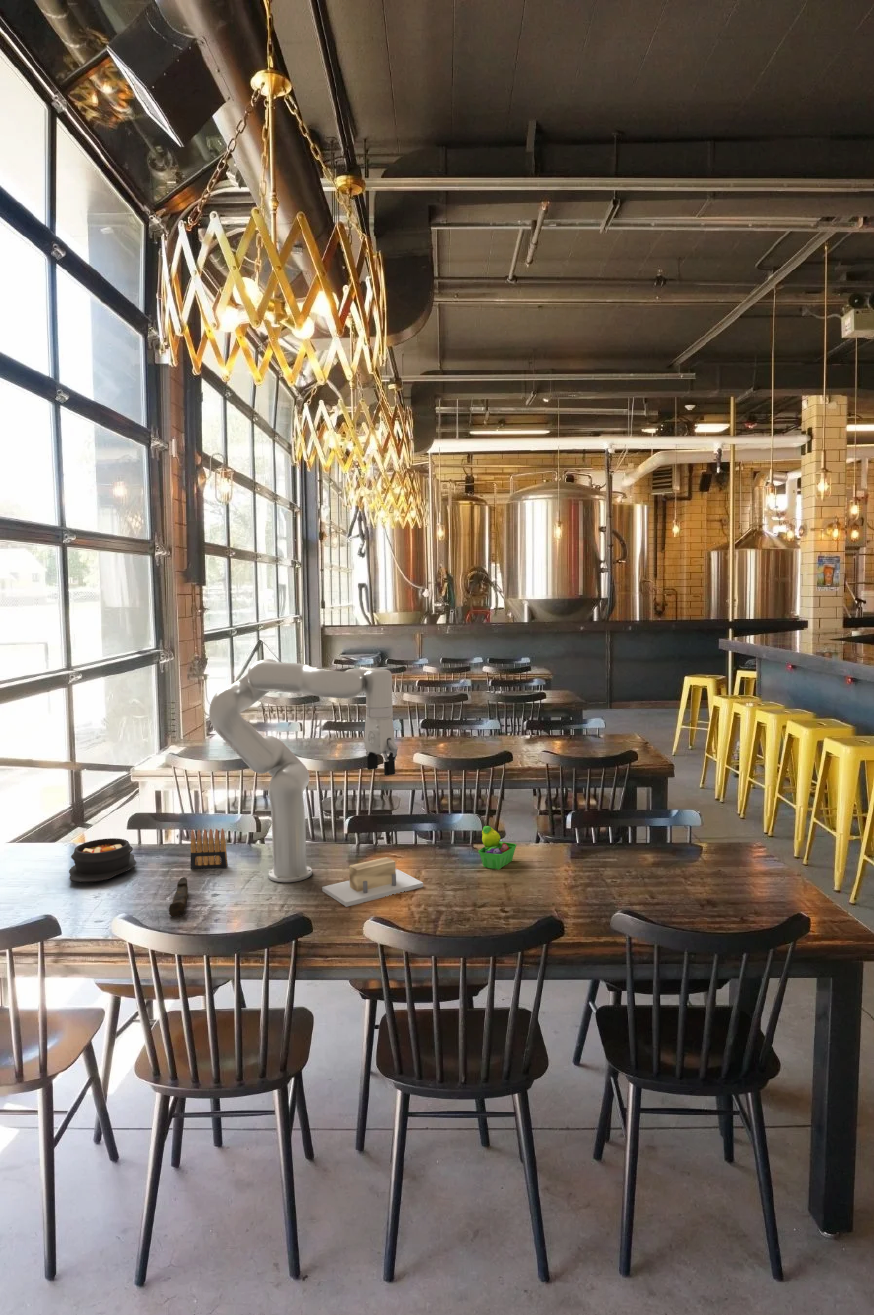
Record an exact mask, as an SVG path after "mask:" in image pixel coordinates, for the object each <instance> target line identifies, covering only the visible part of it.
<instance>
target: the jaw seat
mask: <svg viewBox="0 0 874 1315" xmlns="http://www.w3.org/2000/svg"><path fill="white" fill-rule="evenodd" d="M349 878H350V875H349ZM321 888H322V890H321V891H322V892H323V893H325V894H326V895H327V896H329V897H331V898H332V899H334V900H335V901H337V902H338V903H340V904H341V905H343V906H344V907H345V908H346V907H347V908H348V907H352V906H355V905H359V904H363V903H366V902H370V901H374V900H378V899H383V898H386V897H389V895H390V896H393V895H392V894H394V895H397V894H396V893H398V894H401V893H400V892H402V893H405V892H408V891H409V892H410V891H413V890H417V889H421V888H424V882H422V881H421V880H419V879H417V878H415V877H413V876H411V875H409V874H407V873H405V872H403V871H402V870H400V869H398V868H396V874H392V883H391V884H387V885H383V886H379V887H375V888H371V889H368V887H367V881H363V891H359V892H357V891H355V890H354V889H352V888H351V887H350V879H349V880H346V881H342V882H336V883H332V884H329V885H324V886H322V887H321ZM404 891H405V892H404ZM385 896H386V897H385Z"/></svg>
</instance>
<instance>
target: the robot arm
mask: <svg viewBox="0 0 874 1315" xmlns="http://www.w3.org/2000/svg"><path fill="white" fill-rule="evenodd" d="M392 675H393V673H392V671H390V669H383V668H381V669H380V668H379V669H378V668H375V669H361V668H350V669H347V670H344V671H338V670H326V669H319V668H315V667H313V666H311V665H308V664H306V663H295V662H281V661H276V660H274V659H273V658H265V659H261V660H258V661H255V662H254V663H252V664H251V665H250V666H249V668H248V670H247V672H246V673H244V675H243V676H242V677H240V678H239V679H238V680H237V681H235V682H234V683H232V684H230V685H227V686H225V687H223V688H221V689H219V690H218V691H217V692H216V693H215V694H214V696H213V697H212V700H211V702H210V706H209V709H208V710H209V714H208V715H209V720H210V723H211V725H212V728H213V729H214V731H215V732H216V733H217V735H219V737H221V739H222V740H223V741H225V743H226V744H227V745H228V746H229V747H230V748H231V749H232V751H233V752H234V753H235V754H236V755H237V756H238V757H239V758H240V759H241V760H242V761H243V762H244V764H246V766H248V768H249V769H250V770H251V771H253V772H254V773H256V774H258V775H259V774H267V773H268V774H269V775H270V776H271V779H270V781H269V784H268V797H269V804H270V805H269V806H270V815H271V817H270V818H271V836H272V837H271V838H272V842H271V843H272V862H273V865H272V869H270V870H269V871H268V873H267V877H268V879H269V880H270V881H272V882H277V883H294V882H300V881H303V880H306V879H308V878H310V877H311V876H312V875H313V870H312V867H310V866H308V865H307V864H308V863H307V843H306V842H307V840H306V835H307V834H306V814H305V813H306V812H305V802H304V791H305V789H306V788H307V786H308V785H309V782H310V773H309V770H308V768H307V767H306V765H305V764H304V763H303V762H302V761H301V760H300V759H299V757H298V756H296V755H295V753H294V752H293V751H292V750H291V749H290V748H289V747H288V746H287V745H286V744H285V743H284V742H283V741H281V740H280V739H279V738H278V737H275V736H272V735H265V736H263V735H261V733H259V731H258V730H256V729H255V727H254V726H253V725H252V724H251V723H250V722H248V721H247V720H246V719H245V718H244V717H242V714H241V713H242V712H244V711H246V710H248V709H249V708H250V707H252V706H253V705H254V704H255V703H257V702H258V701H259V700H260V699H262V698H263V697H264V696H265V695H267V694H268V693H269V692H277V693H278V692H279V693H290V694H300V695H307V696H315V697H322V698H335V699H354V698H356V697H357V696H359V695H360V694H365V707H366V709H365V712H366V713H365V714H366V717H365V724H364V739H363V743H364V744H363V746H364V749H365V751H366V752H365V754H366V762H367V763H366V769H367V770H368V771H370V770H376V769H378V768H379V767H378V765H379V763H378V761H379V760H378V755H382V756H383V758H384V761H383V771H384V772H383V773H384V776H386V777H387V776H394V775H395V774H396V764H395V763H396V762H395V761H396V758H397V756H398V749H399V748H398V746H397V745H396V742H395V740H396V739H395V729H394V722H393V721H394V720H393V717H394V714H393V713H394V712H393V705H394V704H393V676H392Z"/></svg>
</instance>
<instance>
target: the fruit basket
mask: <svg viewBox="0 0 874 1315" xmlns="http://www.w3.org/2000/svg"><path fill="white" fill-rule="evenodd" d="M481 834H482V838H481V841H482V844H483V845H484V846H483V847H481V848H480V849H478V850H477V851H478V855H479V856H480V861H481V863H482V866H483V868H488V869H492V870H500V869H502V868H503V867H506V866H507V865H508V864H509V863H512V861H513V859H514V854H515V852H516V848H517V844H516V843H514V842H513V843H512V842H506V841H500V840H501V835H500V833H499V832H498V831H497V830H495V829H493V827H491V826H489V825H484V826H483V828H482V831H481Z"/></svg>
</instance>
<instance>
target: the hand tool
mask: <svg viewBox="0 0 874 1315" xmlns="http://www.w3.org/2000/svg"><path fill="white" fill-rule="evenodd" d="M188 890H189V887H188V879H187V877H185V876H183V877H181V878H179V880H178V882H177V884H176V891H175V893H174V895H173V899H172V902H171V903H170V904H169V906H168V907H169V908H168V914H169V916H170V917H171V916H174V917H181V916H180V915H182V916H184V915H185V913H186V912H185V910H186V904H187V898H188V894H189V893H188V892H189V891H188Z"/></svg>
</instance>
